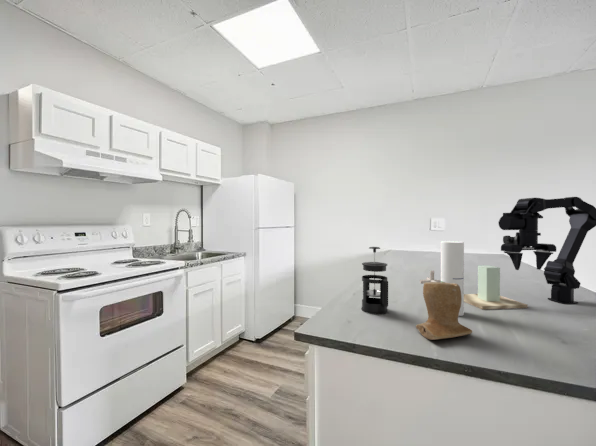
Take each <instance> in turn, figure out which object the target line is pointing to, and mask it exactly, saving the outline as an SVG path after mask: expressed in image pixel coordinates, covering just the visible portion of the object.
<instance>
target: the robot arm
mask: <svg viewBox="0 0 596 446" xmlns="http://www.w3.org/2000/svg"><path fill="white" fill-rule="evenodd" d="M560 208H564V210H565V214H566V215H567V216H568V217H569V219H568V222H569V225H570V229H569V231H568V233H567V236H566V237H565V240H564V241H563V244H562V246H561V248H560V250H559V253H558V255H557V257H556V259H554V260H548V259H549V258H550V257H551V255H553V254H554V252H557V246H556V245H555V244H553V243H539V240H538V238H539V237H540V236H542V234H541V232H539V223H538V222H539V219H544V216H543V215H541V214H540V212H542V211H543V212H544V211H545V210H547V209H560ZM575 208H576V209H575ZM498 226H499V229H501V230H502V231H518V232H515V236H511V235H504V236H502V243H503V244H501V246H500V251H501V252H503V254H507V255H508V256H509V258H510V260H511V261H512V265H513V267H514V269H515V270H516V271H520V267H521V263H522V258H523V252H522V251H532V252H533V254H534V255H535V261H536V270H541V269H542V268H543V266H544V265H545V263H546V265H545V267H544V268H543V270H544V271H543V276H544V279H545V281H546V284H547V285H551V289H550V297H547V300H550V301H553V302H556V303H561V304H567V305H568V304H579V302H578V301H577V300H576V301H575V300H574V299H575V296H574V295H575V292H574V291H575V290H576V289H580V286H581V281H579V279H578V278H576V277H575V273H576V269H575V267H574V262H575V260H576V257H577V256H578V253H579V251H580V249H581V247H582V244H583V243H584V241H585V239H586V236H587V234H588V232H590V231H591V230H592V229H594V228H595V227H596V207H595V206H594V205H593V204H590V203H588V202H587V201H584V200H583V199H582V198H581V197H578V196H568V197H567V196H565V197H563V198H551V199H547V198H546V199H545V198H541V197H528V198H527V197H526V198H519V199H518V200H517V201H516V204H515V205H514V207H513V208H512V210H511V211H510V212H503V213H502V216H501V217H500V218H499V220H498ZM547 260H548V261H547Z"/></svg>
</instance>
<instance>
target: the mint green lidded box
mask: <svg viewBox="0 0 596 446" xmlns="http://www.w3.org/2000/svg"><path fill="white" fill-rule="evenodd" d="M477 294H478V298H480V299H482V300H485V301H500V296H501V267H499V266H498V267H497V266H494V265H477Z"/></svg>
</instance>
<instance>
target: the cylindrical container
mask: <svg viewBox="0 0 596 446" xmlns="http://www.w3.org/2000/svg"><path fill="white" fill-rule="evenodd" d="M440 280H441V282H444V283H455V284H458V285H459V286H460V289H461V298H462V300H461V307H460V311H459V315H458V317H460V316H464V315H465V313H464V311H465V302H464V294H465V293H464V292H465V286H464V285H465V241H459V240H458V241H456V240H454V241H453V240H442V241H440Z"/></svg>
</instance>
